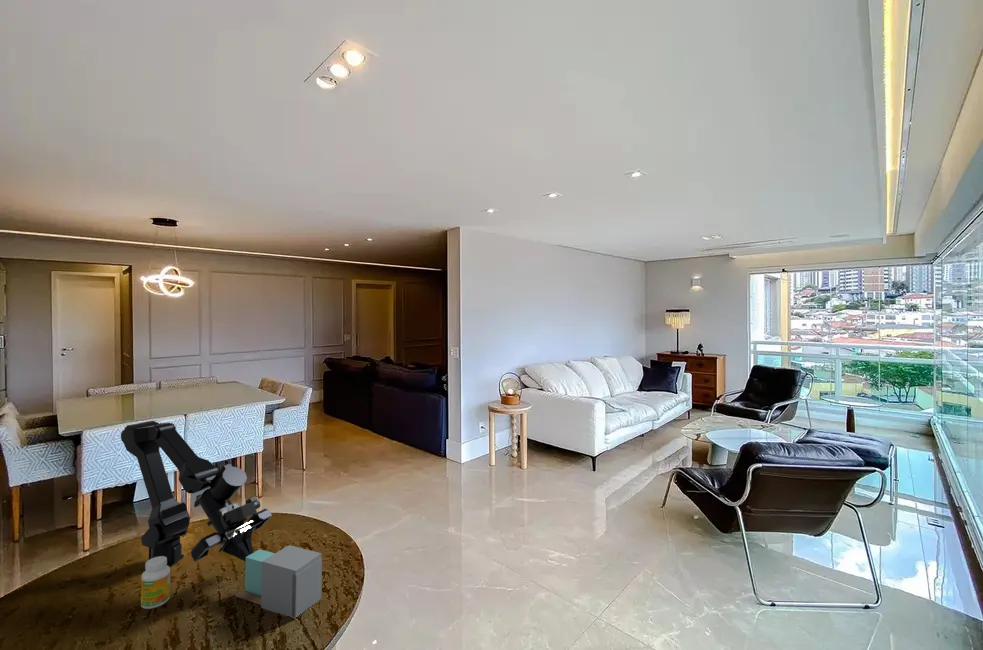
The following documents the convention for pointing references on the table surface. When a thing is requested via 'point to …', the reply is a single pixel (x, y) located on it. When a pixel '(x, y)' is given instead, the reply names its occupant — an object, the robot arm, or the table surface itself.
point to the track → (248, 596)
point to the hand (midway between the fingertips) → (251, 561)
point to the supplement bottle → (155, 583)
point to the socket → (291, 581)
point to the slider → (255, 571)
